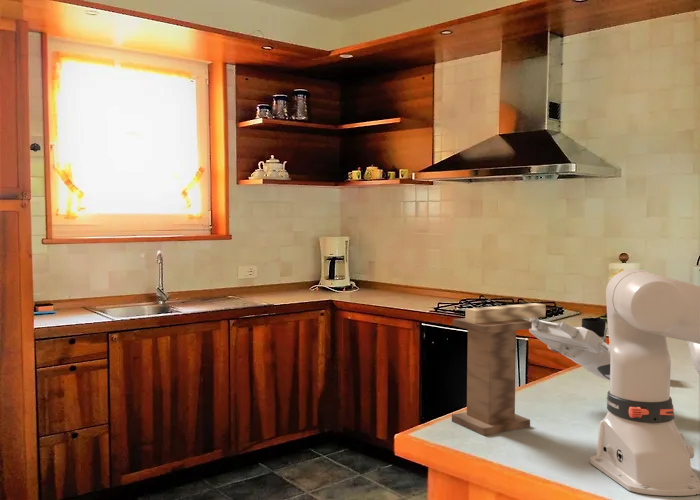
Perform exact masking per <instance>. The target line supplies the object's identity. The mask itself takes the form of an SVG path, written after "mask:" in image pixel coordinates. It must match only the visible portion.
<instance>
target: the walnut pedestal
mask: <svg viewBox="0 0 700 500" xmlns="http://www.w3.org/2000/svg"><path fill="white" fill-rule="evenodd" d="M452 327H457V328H462V329H463V330H464V329H466V330H467V356H466V357H467V358H466V359H467V360H466V361H467V365H466V367H467V369H466V411H465V412H460V413H459V412H458V413H453V414H451V422H454V423H455V424H457V425H459V426H462V427H464V428H466V429H468V430H469V431H470V430H471V431H472V432H474V433H477V434H480V435H482V436H489V435H493V434H498V433H503V432H509V431H513V430H518V429H523V428H529V427H531V419H529V418H527V417H525V416H522V415H519V414H517V413H516V365H517V364H516V360H517V355H516V353H517V352H516V351H517V350H516V349H517V348H516V347H517V331H520V330H529V329H532V322H530V321H529V320H525V319H517V320H507V321H497V322H486V323H476V324H474V323H470V322H466V321H465V317H463V318H462V317H461V318H452Z"/></svg>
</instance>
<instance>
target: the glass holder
mask: <svg viewBox="0 0 700 500" xmlns="http://www.w3.org/2000/svg"><path fill="white" fill-rule="evenodd" d="M606 321H607V319H605V318H604V319H603V318H598V317H597V318H596V317H584V318H581V327H583V328H585V329H588V330H591V331H593V332H594V333H595V334H597V335H598V336H599V337H600V338H601V339H602V340H603V342H605V343H607V339H606V338H607V332H608V326H607V325H606Z"/></svg>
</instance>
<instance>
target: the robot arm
mask: <svg viewBox="0 0 700 500" xmlns="http://www.w3.org/2000/svg"><path fill="white" fill-rule="evenodd" d="M605 299H606V302H605V303H606V321H607V327H608V330H607V332H608V341H609V343H607V342H606V343H605V342H603V340H602V339H601V338H600V337H599V336H598V335H597V334H595V333H594V332H593V331H591V330H588V329H585V328H583V327H582V326H573V325H569V324H567V323H565V322H564V321H558V322H551V321H546V320H542V319H540V318H539V317H538V318H529V320H528V321H530V322H532V329H528V331H529V333H530V334H531V335H533V336H534V337H535V338H536V339H538V340H539V341H541V342H542V343H544V344H545V345H547V349H548V350H550V351H553V352H555V353H556V354H557V353H558V354H560V355H562V356H564V357H566V358H567V359H569V360H570V361H572V362H574V363H575V364H577V365H579V366H581V367H583V368H584V369H585V370H586V371H587V372H589V373H590V374H592V375H594V376H596V377H598V378H600V379H603V380H606V381H609V390H608V392H607V396H606V410H608V411H607V413H606V415H605V416H604V417H603V419H602V420H601V421H600V422H599V425H598V429H599V430H598V437H597V450H596V454H594V455H592V456H590V457H589V463H590V464H591V465H592V466H594V467H595V468H596V469H598V470H599V471H601V472H602V473H604V474H605V475H606V476H608V477H609V478H610V479H611V480H613V481H615V482H616V483H617V484H619V485H621V487H623V488H625V489H626V490H627V491H630V492H634V493H638V494H643V495H652V496H663V497H664V496H669V497H670V496H671V497H676V496H677V497H685V496H686V497H687V496H695V495H696V494H697V495H700V478H699V477H698V476H697V474H696V473H695V471H694V470H693V469H692V467H691V459H693V458H694V457H695V450H694V447H693V446H692V445H686V444H685V442H684V434H683V433H680V431H679V429H678V427H677V426H676V423H675V420H674V419H675V412H674V411H675V407H674V404H673V398H672V397H671V366H672V363H671V362H672V360H671V354H670V351H669V346H668V342H667V341H668V340H667V338H670V339H671V338H672V339H675V340H679V341H684V342H686V343H687V345H688V349H689V352H690V357H691V362H692V364H693V366H694V368H695V370H696V372H697V374H698V375H699V376H700V285H697V284H693V283H689V282H685V281H682V280H678V279H673V278H670V277H666V276H664V275H660V274H656V273H652V272H650V271H646V270H644V269H639V268H629V269H623V270H622V271H619V272H618V273H616V274H615V275H613V276H612V277H611V279H609V281H608V283H607V285H606V288H605ZM697 495H696V496H697Z"/></svg>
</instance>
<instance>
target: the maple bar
mask: <svg viewBox="0 0 700 500" xmlns="http://www.w3.org/2000/svg"><path fill="white" fill-rule="evenodd" d="M546 306H547V305H546V304H543V303H538V302H534V303H533V302H532V303H519V304H509V305H508V304H507V305H496V306H495V305H494V306H484V307H483V306H482V307H472V308H465V316H464V318H465V321H466V322H470V323H474V324H476V323H486V322H497V321H507V320H517V319H520V320H525V319H526V320H527V319H530V318H538V319H539V318H545V317H546V308H547V307H546Z"/></svg>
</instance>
